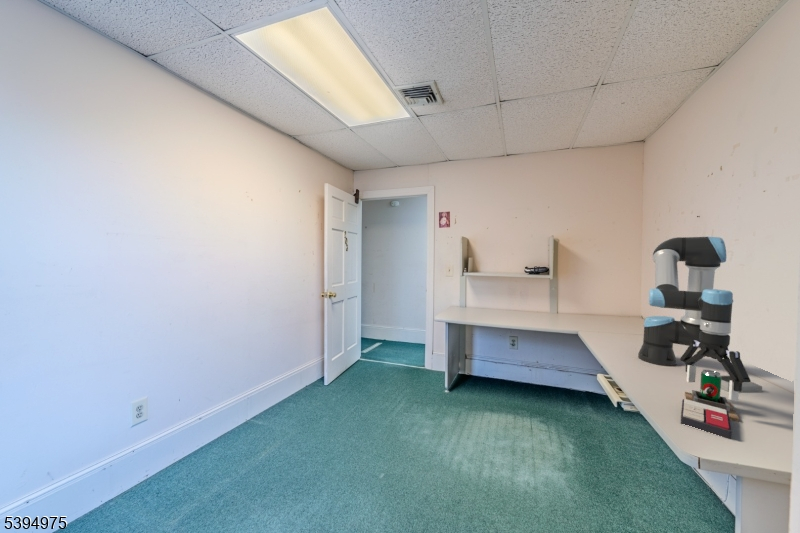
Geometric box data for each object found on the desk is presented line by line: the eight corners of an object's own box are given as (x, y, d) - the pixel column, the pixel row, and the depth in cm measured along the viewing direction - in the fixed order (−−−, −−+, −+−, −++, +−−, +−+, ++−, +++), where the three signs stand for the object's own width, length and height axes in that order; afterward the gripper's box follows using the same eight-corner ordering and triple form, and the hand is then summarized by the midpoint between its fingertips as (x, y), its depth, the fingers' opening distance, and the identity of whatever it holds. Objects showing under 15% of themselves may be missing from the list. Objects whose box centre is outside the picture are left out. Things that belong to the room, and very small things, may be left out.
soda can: (723, 408, 103) (726, 375, 103) (706, 406, 105) (708, 373, 104) (711, 401, 108) (713, 369, 108) (695, 399, 109) (697, 368, 109)
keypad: (762, 383, 119) (728, 384, 118) (761, 392, 119) (727, 392, 119) (734, 374, 129) (702, 374, 128) (734, 382, 129) (702, 382, 128)
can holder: (684, 394, 116) (685, 385, 116) (729, 404, 108) (730, 395, 108) (688, 409, 105) (689, 399, 104) (739, 422, 97) (739, 412, 97)
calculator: (680, 414, 95) (682, 396, 105) (680, 426, 95) (682, 408, 106) (732, 429, 87) (728, 408, 98) (730, 442, 87) (727, 420, 98)
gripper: (670, 324, 117) (667, 375, 118) (748, 343, 92) (744, 408, 93) (687, 324, 118) (684, 375, 119) (770, 343, 93) (765, 408, 94)
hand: (710, 390), depth 106 cm, fingers open, 13 cm apart
